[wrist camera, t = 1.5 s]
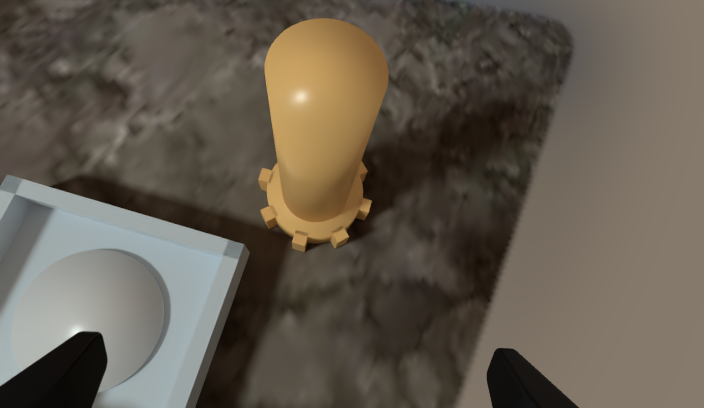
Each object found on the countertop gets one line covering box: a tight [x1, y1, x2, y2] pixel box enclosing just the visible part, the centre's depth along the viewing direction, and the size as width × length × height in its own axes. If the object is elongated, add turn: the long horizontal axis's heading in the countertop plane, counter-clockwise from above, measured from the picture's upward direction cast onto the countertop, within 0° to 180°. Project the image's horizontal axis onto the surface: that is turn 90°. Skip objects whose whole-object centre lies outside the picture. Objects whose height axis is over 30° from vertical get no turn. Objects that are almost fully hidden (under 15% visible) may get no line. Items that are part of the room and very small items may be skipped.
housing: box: [0, 175, 250, 408], centre depth 18 cm, size 18×12×5 cm, turn 164°
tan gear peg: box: [258, 18, 388, 252], centre depth 19 cm, size 6×6×13 cm
